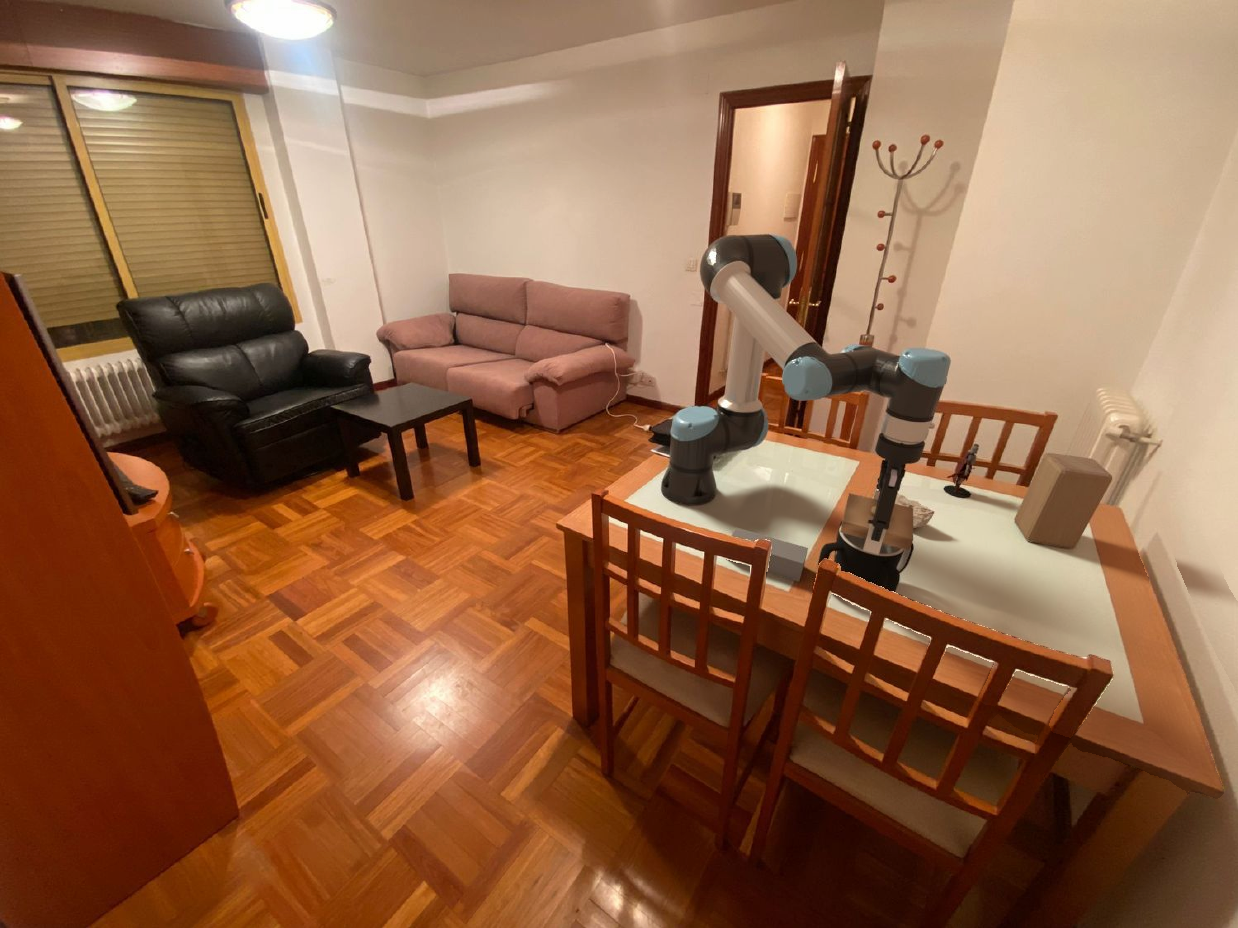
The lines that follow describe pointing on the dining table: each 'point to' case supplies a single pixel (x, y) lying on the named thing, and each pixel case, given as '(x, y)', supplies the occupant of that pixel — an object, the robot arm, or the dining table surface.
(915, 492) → the dining table surface
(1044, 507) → the wooden block
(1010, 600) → the dining table surface
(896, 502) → the stone
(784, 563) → the riser
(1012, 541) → the dining table surface
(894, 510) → the lid
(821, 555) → the mug
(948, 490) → the figurine
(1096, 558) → the dining table surface
